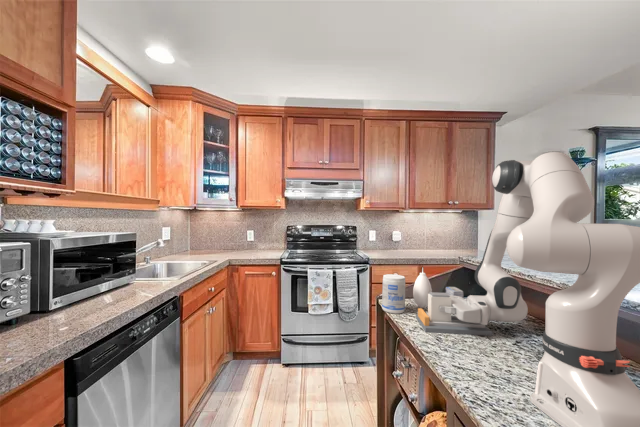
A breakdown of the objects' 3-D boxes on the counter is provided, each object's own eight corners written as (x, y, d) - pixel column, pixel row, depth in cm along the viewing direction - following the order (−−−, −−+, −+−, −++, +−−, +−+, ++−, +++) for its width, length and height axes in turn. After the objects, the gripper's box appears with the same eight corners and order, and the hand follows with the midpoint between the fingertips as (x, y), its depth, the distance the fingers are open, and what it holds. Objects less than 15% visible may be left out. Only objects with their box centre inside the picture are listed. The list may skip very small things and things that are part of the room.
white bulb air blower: (435, 309, 122) (436, 268, 123) (420, 311, 120) (420, 269, 120) (424, 304, 130) (424, 265, 130) (409, 305, 127) (409, 265, 128)
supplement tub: (388, 315, 115) (389, 279, 115) (378, 307, 124) (378, 274, 124) (409, 313, 117) (410, 277, 117) (397, 306, 126) (397, 273, 127)
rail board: (492, 335, 95) (492, 322, 95) (425, 332, 98) (425, 319, 98) (474, 320, 109) (474, 309, 109) (416, 317, 112) (416, 306, 112)
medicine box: (463, 311, 120) (463, 291, 121) (453, 311, 121) (453, 291, 121) (455, 305, 128) (455, 286, 128) (445, 305, 128) (445, 286, 129)
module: (451, 322, 101) (451, 295, 102) (431, 321, 102) (431, 295, 102) (447, 318, 106) (447, 292, 106) (427, 317, 107) (427, 291, 107)
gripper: (464, 291, 113) (428, 290, 115) (489, 307, 93) (446, 306, 94) (464, 307, 113) (428, 305, 114) (489, 327, 93) (446, 324, 94)
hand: (436, 306), depth 104 cm, fingers closed on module, 4 cm apart
